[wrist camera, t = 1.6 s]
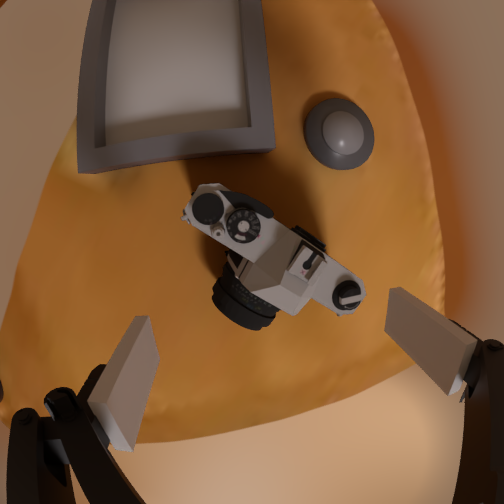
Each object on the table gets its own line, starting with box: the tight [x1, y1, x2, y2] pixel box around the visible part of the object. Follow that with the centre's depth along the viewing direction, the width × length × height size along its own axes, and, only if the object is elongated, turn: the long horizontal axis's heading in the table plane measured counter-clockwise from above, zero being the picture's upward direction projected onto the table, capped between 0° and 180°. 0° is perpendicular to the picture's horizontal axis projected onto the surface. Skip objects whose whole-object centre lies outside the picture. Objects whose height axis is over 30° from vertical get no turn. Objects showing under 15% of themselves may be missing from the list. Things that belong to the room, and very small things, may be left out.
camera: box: [181, 183, 366, 331], centre depth 19 cm, size 13×8×9 cm, turn 59°
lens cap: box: [304, 98, 374, 170], centre depth 20 cm, size 6×6×2 cm
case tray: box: [77, 0, 276, 174], centre depth 16 cm, size 14×19×3 cm
